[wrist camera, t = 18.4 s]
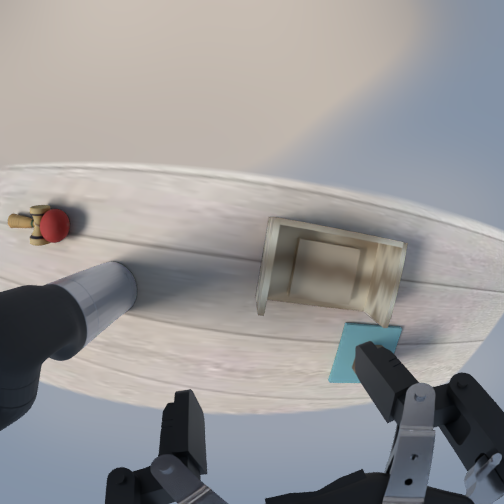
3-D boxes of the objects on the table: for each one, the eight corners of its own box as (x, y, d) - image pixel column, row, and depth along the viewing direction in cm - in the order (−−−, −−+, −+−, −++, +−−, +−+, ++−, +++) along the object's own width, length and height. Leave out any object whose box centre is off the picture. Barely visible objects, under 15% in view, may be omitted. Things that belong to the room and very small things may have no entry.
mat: (381, 379, 48) (383, 382, 47) (328, 379, 47) (329, 382, 46) (399, 326, 46) (402, 328, 45) (345, 322, 46) (347, 324, 45)
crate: (365, 309, 46) (387, 328, 37) (255, 296, 45) (257, 315, 36) (380, 238, 44) (407, 243, 35) (268, 217, 43) (274, 217, 35)
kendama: (20, 241, 44) (72, 251, 42) (0, 238, 38) (48, 248, 36) (26, 206, 45) (78, 208, 43) (6, 200, 39) (56, 201, 37)
